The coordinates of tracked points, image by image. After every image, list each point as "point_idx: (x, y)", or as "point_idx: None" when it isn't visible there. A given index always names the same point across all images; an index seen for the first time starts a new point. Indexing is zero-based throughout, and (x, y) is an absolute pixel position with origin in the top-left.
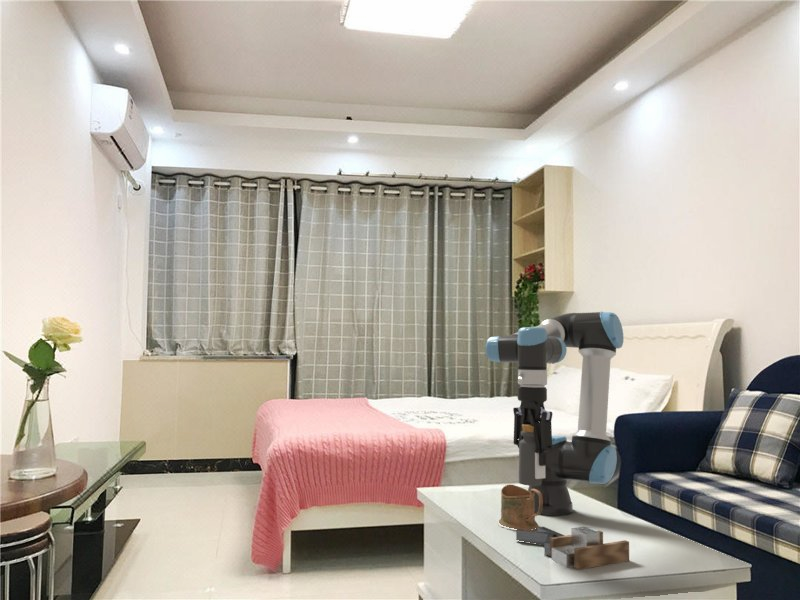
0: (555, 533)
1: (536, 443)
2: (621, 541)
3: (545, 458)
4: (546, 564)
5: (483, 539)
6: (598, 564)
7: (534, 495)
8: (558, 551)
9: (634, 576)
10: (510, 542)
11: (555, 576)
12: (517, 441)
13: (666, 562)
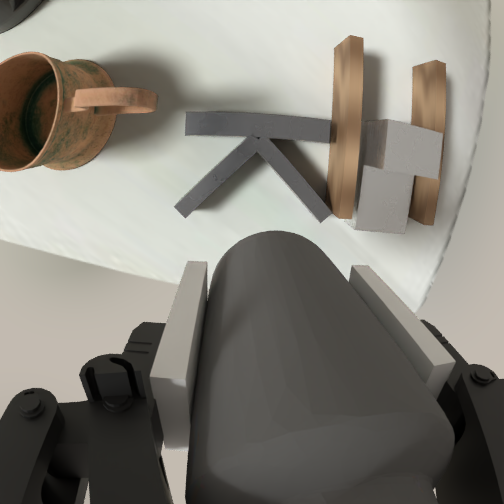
0: (263, 126)
1: (444, 487)
2: (439, 76)
3: (451, 353)
4: (357, 252)
5: (140, 275)
6: None
7: (52, 61)
8: (378, 231)
9: (474, 145)
10: (186, 226)
11: (407, 279)
12: (83, 476)
13: (448, 23)
